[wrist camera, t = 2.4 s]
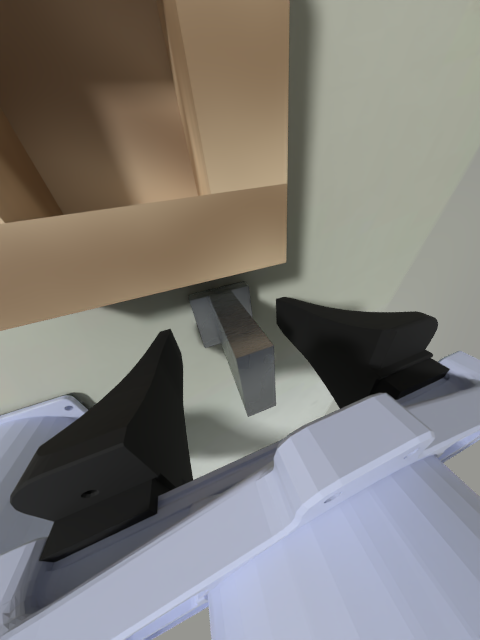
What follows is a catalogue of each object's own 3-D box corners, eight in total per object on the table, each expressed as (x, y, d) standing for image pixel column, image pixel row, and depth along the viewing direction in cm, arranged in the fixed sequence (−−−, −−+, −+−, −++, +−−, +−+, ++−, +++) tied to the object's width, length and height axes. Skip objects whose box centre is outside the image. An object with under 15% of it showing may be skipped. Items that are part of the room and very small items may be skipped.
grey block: (249, 326, 15) (297, 396, 9) (203, 340, 14) (223, 427, 8) (244, 281, 12) (302, 335, 7) (188, 295, 12) (201, 370, 6)
